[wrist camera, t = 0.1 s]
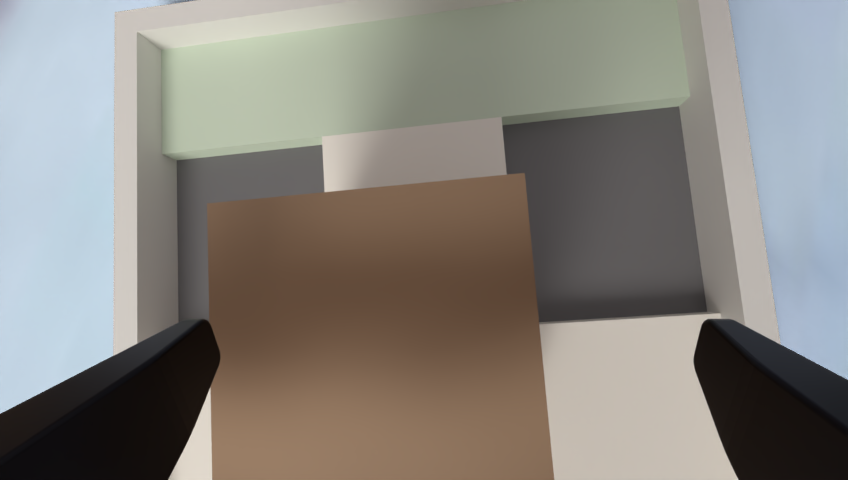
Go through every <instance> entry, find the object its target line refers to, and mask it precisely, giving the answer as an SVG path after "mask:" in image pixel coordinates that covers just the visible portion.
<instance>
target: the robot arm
mask: <svg viewBox="0 0 848 480" xmlns="http://www.w3.org/2000/svg"><path fill="white" fill-rule="evenodd" d="M220 357H221V356H220V350H219V347H218V344H217V341H216V338H215V335H214V332H213V329H212V327H211V324H210V323H209V321H207V320H205V319H184V320H182V321H180V322H178V323H176V324H174V325H172V326H170V327H168V328H166V329H165V330H163V331H161V332H159V333H157V334H155V335H153V336H151V337H149V338H147V339H145V340H143V341H141V342H139V343H137V344H135V345H133V346H131V347H129V348H128V349H126V350H124V351H122V352H120V353H118V354H116V355H114V356H112V357H110V358H108V359H106V360H104V361H102V362H100V363H98V364H96V365H94V366H93V367H91V368H89V369H87V370H85V371H83V372H81V373H79V374H77V375H75V376H73V377H71V378H69V379H67V380H65V381H63V382H61V383H59V384H58V385H56V386H54V387H52V388H50V389H48V390H46V391H44V392H42V393H40V394H38V395H36V396H34V397H32V398H30V399H28V400H26V401H24V402H22V403H21V404H19V405H17V406H15V407H13V408H11V409H9V410H7V411H5V412H3V413H1V414H0V480H168V479H169V477H170V475H171V473H172V472H173V470H174V468H175V466H176V464H177V462H178V460H179V458H180V456H181V454H182V452H183V450H184V448H185V446H186V444H187V442H188V440H189V438H190V436H191V434H192V431H193V429H194V427H195V425H196V422H197V420H198V417H199V415H200V412H201V410H202V407H203V405H204V402H205V400H206V397H207V394H208V392H209V389H210V387H211V384H212V382H213V379H214V377H215V374H216V372H217V369H218V367H219V364H220ZM693 362H694V369H695V372H696V375H697V377H698V380H699V383H700V386H701V388H702V391H703V394H704V397H705V399H706V402H707V405H708V408H709V410H710V413H711V416H712V419H713V421H714V424H715V427H716V429H717V432H718V435H719V438H720V440H721V443H722V445H723V448H724V450H725V453H726V455H727V457H728V459H729V461H730V464H731V466H732V468H733V470H734V472H735V474H736V476H737V478H738V480H848V380H847V379H845V378H843V377H841V376H839V375H837V374H835V373H833V372H832V371H830V370H828V369H826V368H824V367H822V366H820V365H818V364H816V363H815V362H813V361H811V360H809V359H807V358H805V357H803V356H801V355H799V354H797V353H796V352H794V351H792V350H790V349H788V348H786V347H784V346H782V345H780V344H779V343H777V342H775V341H773V340H771V339H769V338H767V337H765V336H763V335H762V334H760V333H758V332H756V331H754V330H752V329H750V328H748V327H746V326H744V325H743V324H741V323H739V322H737V321H735V320H733V319H707V320H705V321H704V322H703V323H702V325H701V329H700V333H699V337H698V341H697V345H696V349H695V353H694V359H693Z"/></svg>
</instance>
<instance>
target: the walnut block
mask: <svg viewBox="0 0 848 480" xmlns="http://www.w3.org/2000/svg"><path fill="white" fill-rule="evenodd" d="M207 228H208V282H209V323H210V324H211V327H212V329H213V332H214V335H215V338H216V341H217V344H218V347H219V350H220V356H221V357H220V364H219V367H218V369H217V372H216V374H215V377H214V379H213V382H212V384H211V387H210V388H211V442H212V480H554V472H553V461H552V451H551V440H550V430H549V420H548V409H547V399H546V389H545V378H544V368H543V358H542V347H541V337H540V327H539V316H538V306H537V296H536V285H535V275H534V265H533V254H532V244H531V234H530V223H529V213H528V202H527V192H526V182H525V173H519V174H508V175H498V176H488V177H477V178H467V179H456V180H446V181H436V182H425V183H415V184H404V185H394V186H384V187H373V188H363V189H353V190H342V191H332V192H321V193H311V194H301V195H290V196H280V197H269V198H259V199H249V200H238V201H228V202H217V203H207Z"/></svg>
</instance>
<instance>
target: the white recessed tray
mask: <svg viewBox="0 0 848 480" xmlns="http://www.w3.org/2000/svg"><path fill="white" fill-rule="evenodd" d="M519 173H525V182H526V192H527V202H528V213H529V223H530V234H531V244H532V254H533V265H534V275H535V285H536V296H537V306H538V316H539V327H540V337H541V347H542V358H543V368H544V378H545V389H546V399H547V409H548V420H549V430H550V440H551V451H552V461H553V472H554V480H738V478H737V476H736V474H735V472H734V470H733V468H732V466H731V464H730V461H729V459H728V457H727V455H726V453H725V450H724V448H723V445H722V443H721V440H720V438H719V435H718V432H717V429H716V427H715V424H714V421H713V419H712V416H711V413H710V410H709V408H708V405H707V402H706V399H705V397H704V394H703V391H702V388H701V386H700V383H699V380H698V377H697V375H696V372H695V369H694V362H693V359H694V353H695V349H696V345H697V341H698V337H699V333H700V329H701V325H702V323H703V322H704V321H705V320H707V319H733V320H735V321H737V322H739V323H741V324H743V325H744V326H746V327H748V328H750V329H752V330H754V331H756V332H758V333H760V334H762V335H763V336H765V337H767V338H769V339H771V340H773V341H775V342H777V343H779V344H780V337H779V331H778V324H777V318H776V311H775V304H774V298H773V291H772V285H771V278H770V272H769V265H768V259H767V252H766V246H765V239H764V232H763V226H762V219H761V213H760V206H759V200H758V193H757V187H756V180H755V174H754V167H753V161H752V154H751V147H750V141H749V134H748V128H747V121H746V115H745V108H744V102H743V95H742V89H741V82H740V76H739V69H738V62H737V56H736V49H735V43H734V36H733V30H732V23H731V17H730V10H729V4H728V0H195V1H189V2H182V3H175V4H168V5H161V6H154V7H148V8H141V9H134V10H127V11H120V12H115V87H114V346H113V356H114V355H116V354H118V353H120V352H122V351H124V350H126V349H128V348H129V347H131V346H133V345H135V344H137V343H139V342H141V341H143V340H145V339H147V338H149V337H151V336H153V335H155V334H157V333H159V332H161V331H163V330H165V329H166V328H168V327H170V326H172V325H174V324H176V323H178V322H180V321H182V320H184V319H205V320H207V321H209V282H208V228H207V203H217V202H228V201H238V200H249V199H259V198H269V197H280V196H290V195H301V194H311V193H321V192H332V191H342V190H353V189H363V188H373V187H384V186H394V185H404V184H415V183H425V182H436V181H446V180H456V179H467V178H477V177H488V176H498V175H508V174H519ZM780 345H781V344H780ZM168 480H212V442H211V388H210V389H209V392H208V394H207V397H206V400H205V402H204V405H203V407H202V410H201V412H200V415H199V417H198V420H197V422H196V425H195V427H194V429H193V431H192V434H191V436H190V438H189V440H188V442H187V444H186V446H185V448H184V450H183V452H182V454H181V456H180V458H179V460H178V462H177V464H176V466H175V468H174V470H173V472H172V473H171V475H170V477H169V479H168Z"/></svg>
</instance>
